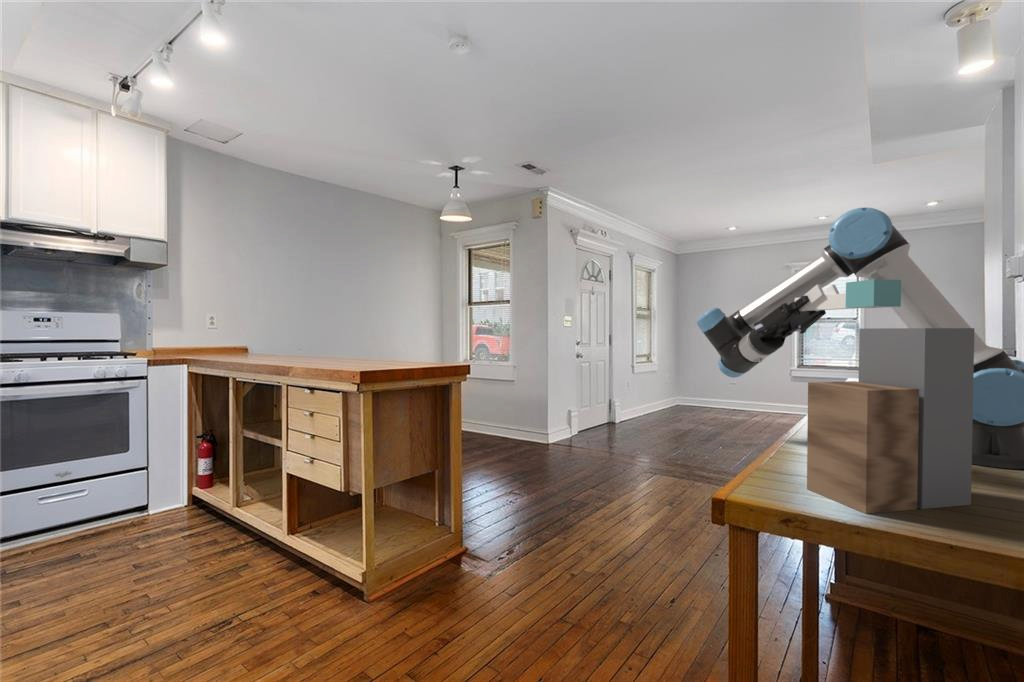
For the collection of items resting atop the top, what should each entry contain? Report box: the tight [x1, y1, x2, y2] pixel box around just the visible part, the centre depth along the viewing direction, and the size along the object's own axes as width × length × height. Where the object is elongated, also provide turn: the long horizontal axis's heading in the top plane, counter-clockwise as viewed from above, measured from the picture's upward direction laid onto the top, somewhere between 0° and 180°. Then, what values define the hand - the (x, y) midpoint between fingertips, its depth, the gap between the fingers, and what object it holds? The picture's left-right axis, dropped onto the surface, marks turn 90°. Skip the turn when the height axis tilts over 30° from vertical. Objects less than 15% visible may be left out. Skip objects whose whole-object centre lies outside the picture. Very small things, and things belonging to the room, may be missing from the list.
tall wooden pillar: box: [806, 380, 919, 514], centre depth 83 cm, size 10×12×20 cm
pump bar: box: [795, 279, 901, 311], centre depth 98 cm, size 6×21×5 cm, turn 10°
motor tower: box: [858, 327, 975, 510], centre depth 84 cm, size 10×12×30 cm
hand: (828, 289), depth 101 cm, fingers closed on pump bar, 3 cm apart
